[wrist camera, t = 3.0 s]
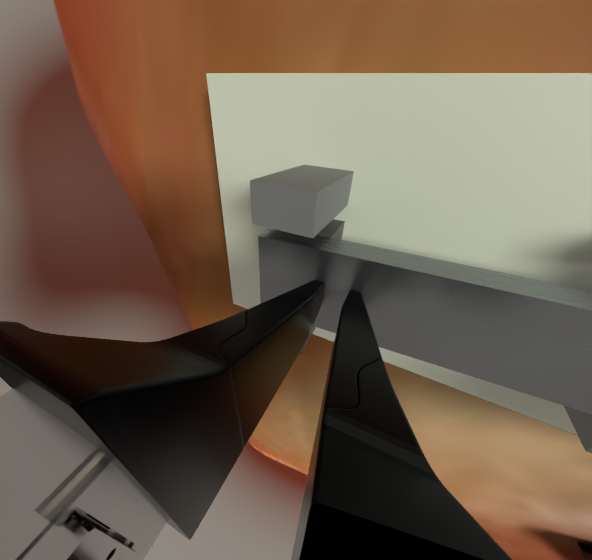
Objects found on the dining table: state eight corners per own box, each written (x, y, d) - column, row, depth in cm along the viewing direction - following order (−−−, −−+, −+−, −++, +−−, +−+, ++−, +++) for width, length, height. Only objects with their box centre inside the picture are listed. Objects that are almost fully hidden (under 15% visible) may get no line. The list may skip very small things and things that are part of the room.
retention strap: (848, 317, 6) (959, 364, 4) (659, 420, 8) (699, 466, 7) (273, 210, 10) (256, 221, 8) (273, 303, 12) (260, 320, 11)
